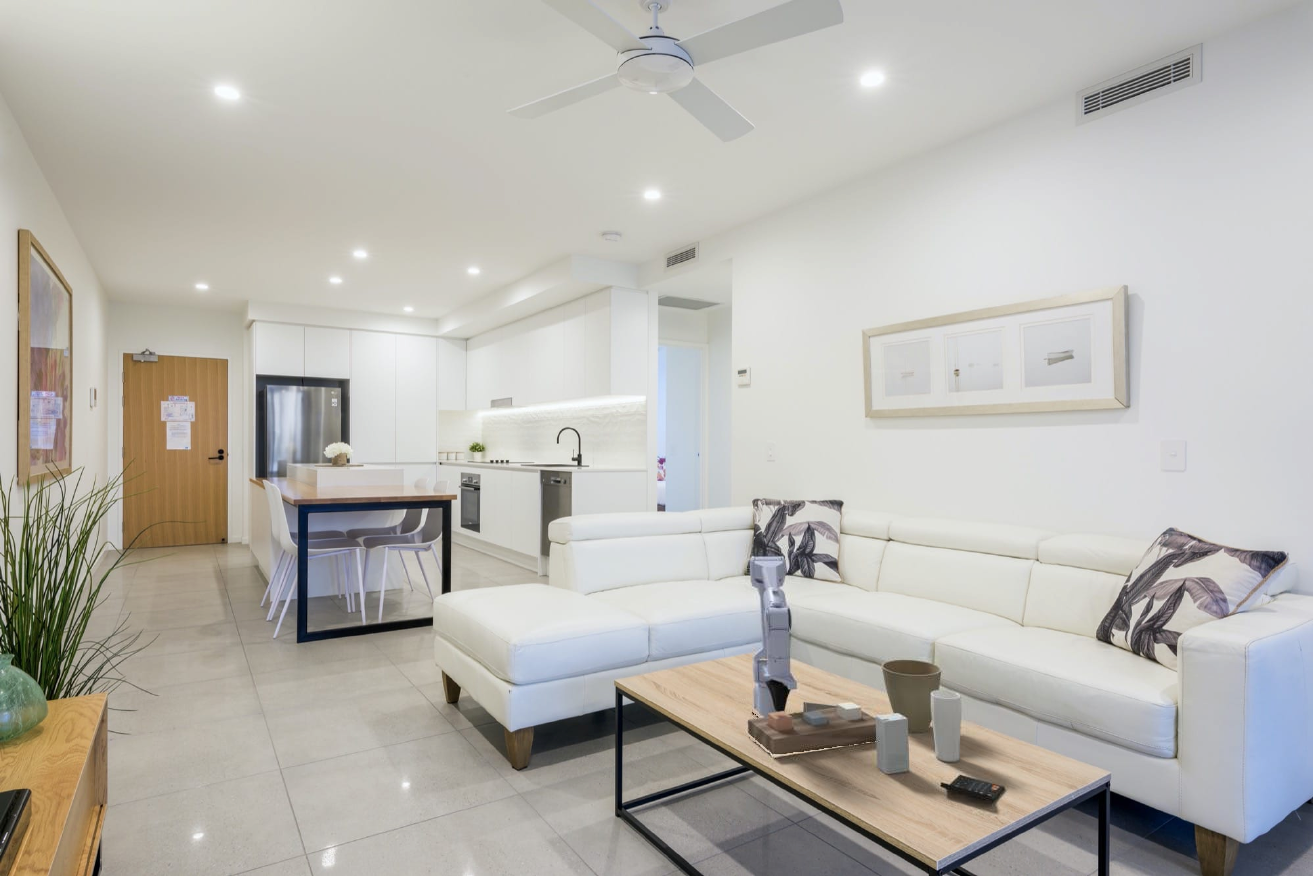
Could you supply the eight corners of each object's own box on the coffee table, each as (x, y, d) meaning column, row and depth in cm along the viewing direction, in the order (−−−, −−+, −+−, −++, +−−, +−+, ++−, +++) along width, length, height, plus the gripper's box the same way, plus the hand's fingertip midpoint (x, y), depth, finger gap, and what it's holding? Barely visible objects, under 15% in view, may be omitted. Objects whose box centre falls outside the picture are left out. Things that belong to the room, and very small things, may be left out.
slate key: (803, 726, 182) (803, 712, 183) (818, 724, 184) (818, 710, 184) (812, 732, 178) (811, 718, 178) (827, 730, 180) (827, 716, 180)
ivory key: (837, 717, 186) (836, 703, 186) (851, 715, 187) (851, 701, 187) (846, 723, 181) (846, 709, 182) (861, 721, 183) (861, 707, 183)
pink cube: (768, 727, 179) (767, 713, 180) (783, 725, 181) (783, 711, 181) (776, 733, 175) (776, 719, 175) (792, 731, 177) (791, 717, 177)
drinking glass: (944, 766, 164) (942, 700, 165) (926, 754, 171) (924, 691, 171) (969, 762, 166) (967, 697, 166) (950, 751, 172) (948, 688, 173)
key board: (748, 737, 183) (747, 719, 183) (852, 722, 192) (851, 705, 193) (773, 758, 170) (773, 739, 170) (884, 741, 179) (883, 722, 179)
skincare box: (899, 764, 165) (897, 711, 166) (910, 772, 161) (909, 718, 161) (875, 767, 164) (874, 714, 164) (886, 775, 159) (885, 721, 160)
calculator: (1005, 790, 152) (1004, 776, 152) (987, 811, 143) (987, 796, 143) (959, 778, 158) (959, 764, 158) (940, 797, 150) (940, 782, 150)
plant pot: (916, 714, 197) (914, 656, 198) (955, 733, 183) (954, 671, 184) (871, 722, 192) (870, 662, 193) (908, 742, 178) (906, 677, 179)
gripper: (751, 650, 184) (752, 703, 184) (778, 664, 171) (779, 722, 170) (775, 647, 187) (776, 700, 186) (804, 661, 173) (805, 718, 172)
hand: (779, 710), depth 178 cm, fingers closed
